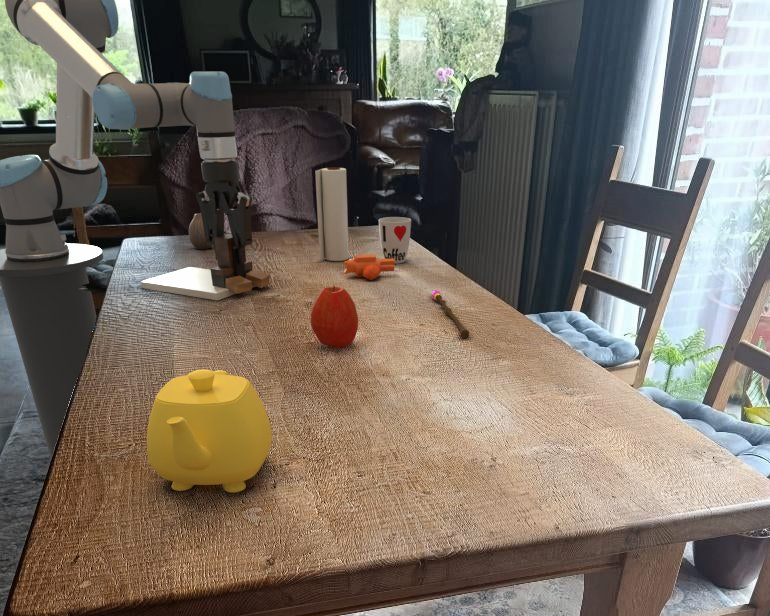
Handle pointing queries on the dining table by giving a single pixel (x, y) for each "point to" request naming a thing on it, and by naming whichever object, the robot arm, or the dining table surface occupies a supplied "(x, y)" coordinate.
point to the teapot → (208, 431)
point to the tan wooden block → (258, 278)
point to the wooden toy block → (225, 261)
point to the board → (188, 284)
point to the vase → (198, 233)
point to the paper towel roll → (332, 213)
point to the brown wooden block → (238, 284)
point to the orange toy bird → (368, 266)
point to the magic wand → (450, 314)
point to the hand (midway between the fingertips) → (232, 277)
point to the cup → (395, 237)
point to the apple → (334, 318)
